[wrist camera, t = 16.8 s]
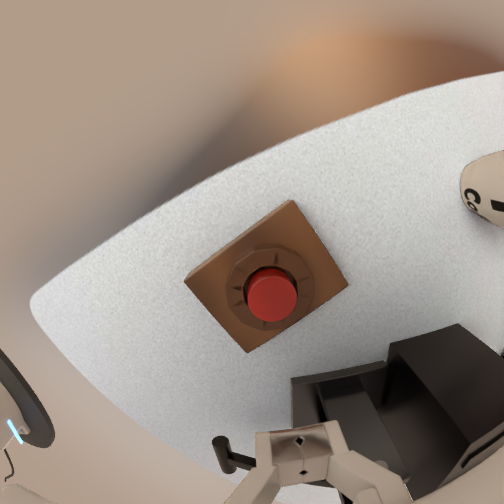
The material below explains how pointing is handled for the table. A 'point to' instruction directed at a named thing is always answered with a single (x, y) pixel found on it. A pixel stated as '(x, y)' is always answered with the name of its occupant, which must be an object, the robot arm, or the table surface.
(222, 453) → the toaster lever
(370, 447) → the toaster bracket
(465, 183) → the cup
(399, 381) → the toaster
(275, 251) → the control block
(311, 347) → the table surface
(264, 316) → the button
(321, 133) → the table surface
